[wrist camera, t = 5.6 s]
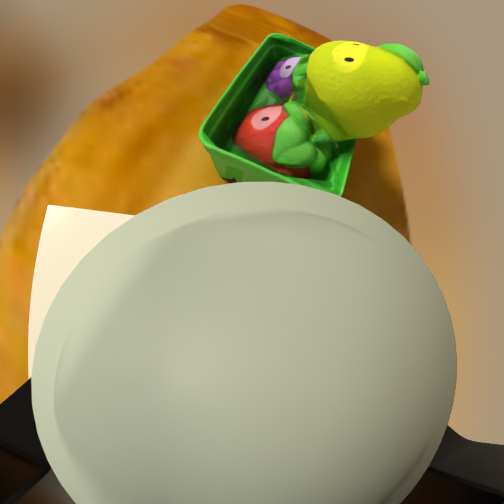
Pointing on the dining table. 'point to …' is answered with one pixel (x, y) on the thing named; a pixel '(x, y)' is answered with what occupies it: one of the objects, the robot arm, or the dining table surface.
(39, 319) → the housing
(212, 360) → the grey cylinder
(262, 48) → the fruit basket
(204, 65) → the dining table surface
